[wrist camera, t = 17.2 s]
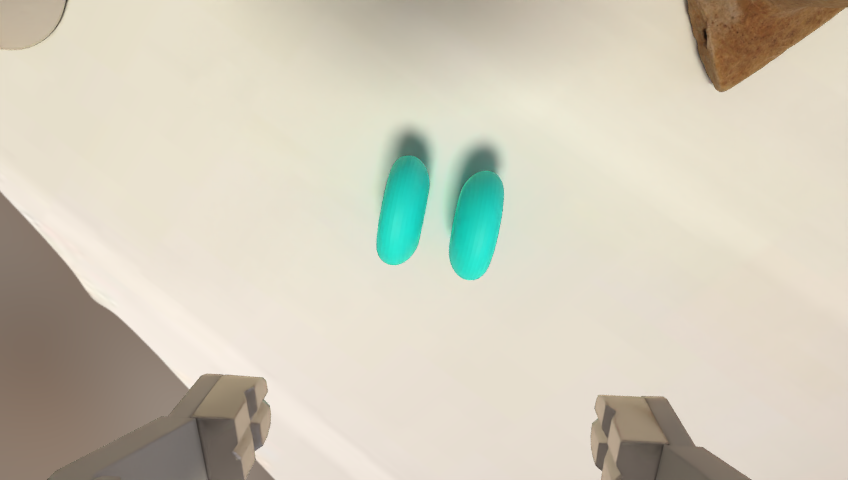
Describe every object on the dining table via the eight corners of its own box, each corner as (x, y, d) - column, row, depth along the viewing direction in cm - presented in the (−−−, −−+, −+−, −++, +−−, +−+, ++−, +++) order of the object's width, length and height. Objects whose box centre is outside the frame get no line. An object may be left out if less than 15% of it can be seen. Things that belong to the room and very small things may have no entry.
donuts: (479, 257, 50) (483, 302, 41) (385, 238, 50) (367, 279, 41) (502, 163, 47) (512, 190, 38) (400, 143, 47) (385, 165, 38)
